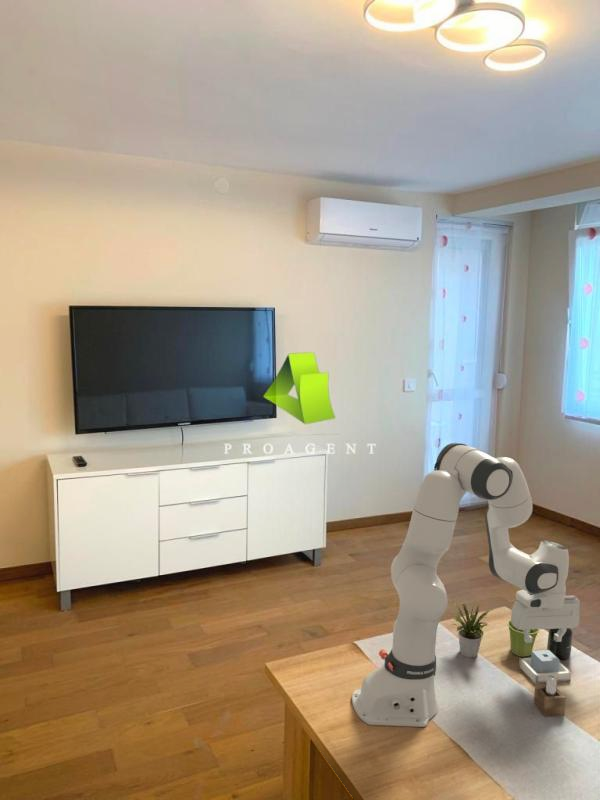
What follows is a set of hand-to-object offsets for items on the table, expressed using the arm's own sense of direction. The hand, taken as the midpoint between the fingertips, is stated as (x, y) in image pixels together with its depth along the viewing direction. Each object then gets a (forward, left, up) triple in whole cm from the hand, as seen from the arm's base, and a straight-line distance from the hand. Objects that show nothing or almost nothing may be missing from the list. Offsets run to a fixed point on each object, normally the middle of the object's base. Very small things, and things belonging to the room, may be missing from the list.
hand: (542, 641), depth 184 cm
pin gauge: (-8, -17, -10) cm, 21 cm away
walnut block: (-8, -17, -10) cm, 21 cm away
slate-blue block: (+1, -1, -9) cm, 9 cm away
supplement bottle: (+11, +7, -10) cm, 16 cm away
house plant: (-18, +13, -10) cm, 24 cm away
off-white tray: (+1, -1, -10) cm, 10 cm away
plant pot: (0, +11, -10) cm, 15 cm away
